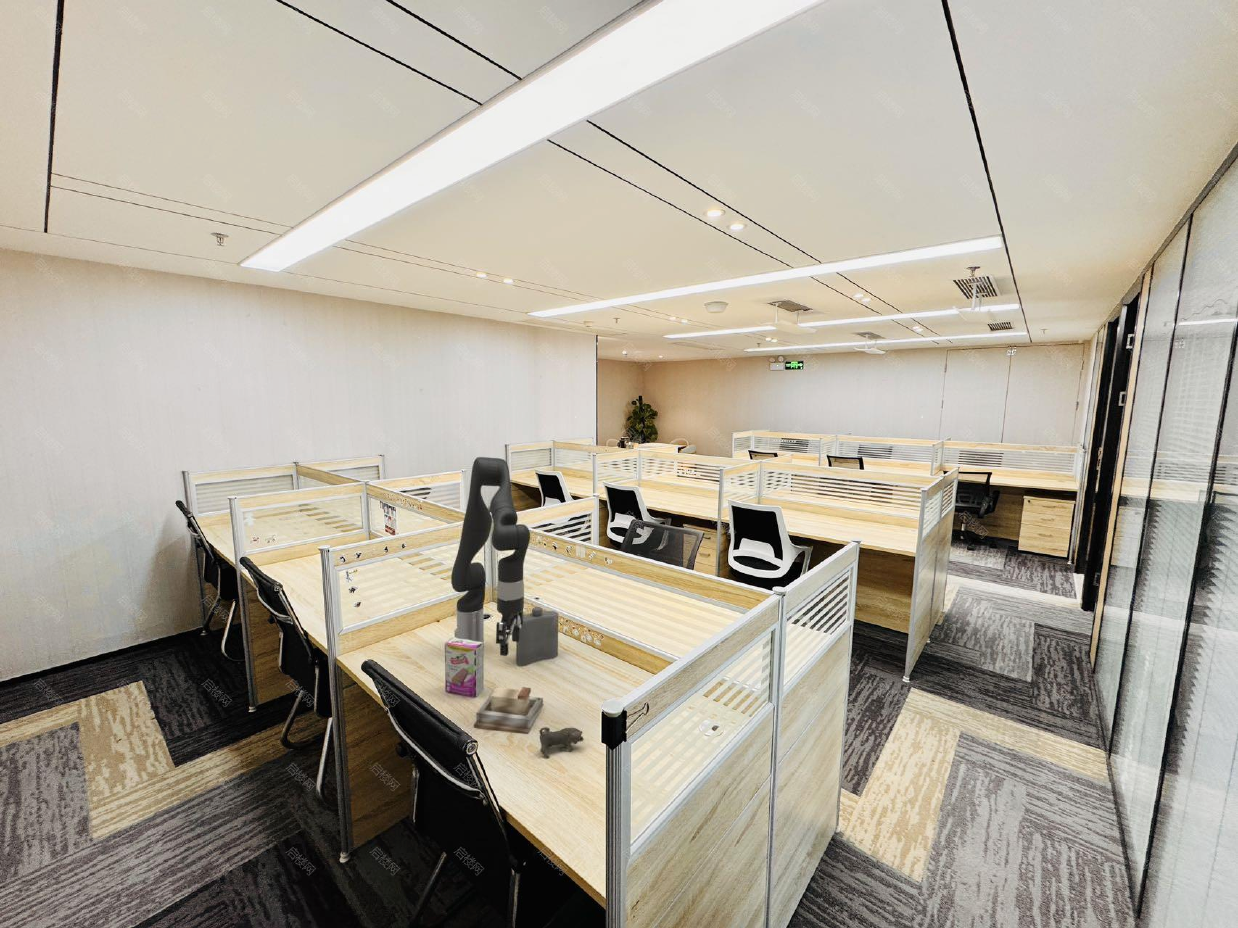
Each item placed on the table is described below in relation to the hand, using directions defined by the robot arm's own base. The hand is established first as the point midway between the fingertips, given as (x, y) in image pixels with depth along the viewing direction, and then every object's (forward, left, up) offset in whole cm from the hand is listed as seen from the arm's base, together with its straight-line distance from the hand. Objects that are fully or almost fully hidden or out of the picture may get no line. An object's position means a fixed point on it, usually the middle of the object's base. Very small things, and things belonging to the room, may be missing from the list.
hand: (510, 647), depth 146 cm
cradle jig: (0, 0, -21) cm, 21 cm away
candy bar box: (-19, +9, -21) cm, 30 cm away
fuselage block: (0, 0, -20) cm, 20 cm away
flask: (-3, +31, -21) cm, 38 cm away
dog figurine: (+19, -11, -21) cm, 31 cm away
